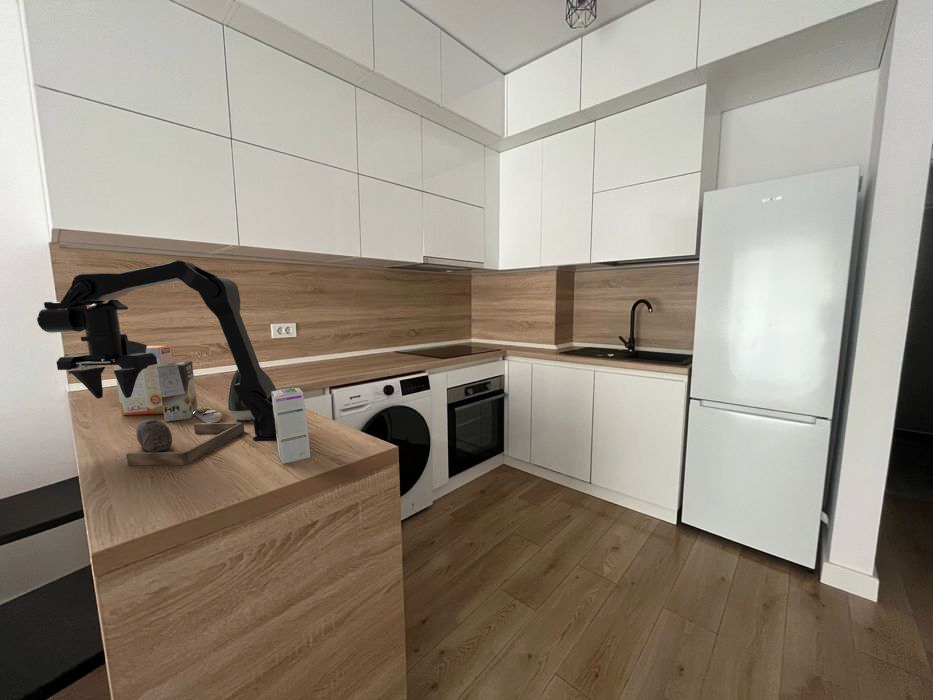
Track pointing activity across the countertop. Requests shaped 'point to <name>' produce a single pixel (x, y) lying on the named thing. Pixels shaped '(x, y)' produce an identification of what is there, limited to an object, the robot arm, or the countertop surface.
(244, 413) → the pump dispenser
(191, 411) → the coffee box
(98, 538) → the countertop surface
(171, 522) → the countertop surface
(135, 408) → the cracker box
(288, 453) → the syrup box
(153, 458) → the walnut frame
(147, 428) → the perforated stone tool
